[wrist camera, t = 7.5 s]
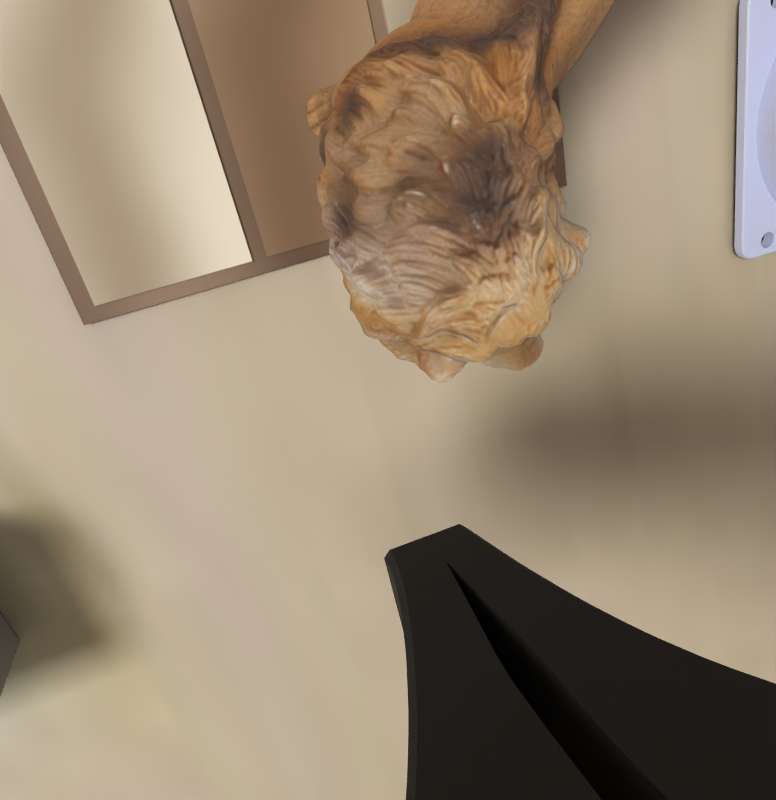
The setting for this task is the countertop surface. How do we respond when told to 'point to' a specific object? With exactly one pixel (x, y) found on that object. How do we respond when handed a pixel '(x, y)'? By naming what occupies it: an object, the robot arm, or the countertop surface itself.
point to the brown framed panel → (176, 135)
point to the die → (6, 649)
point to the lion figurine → (454, 179)
